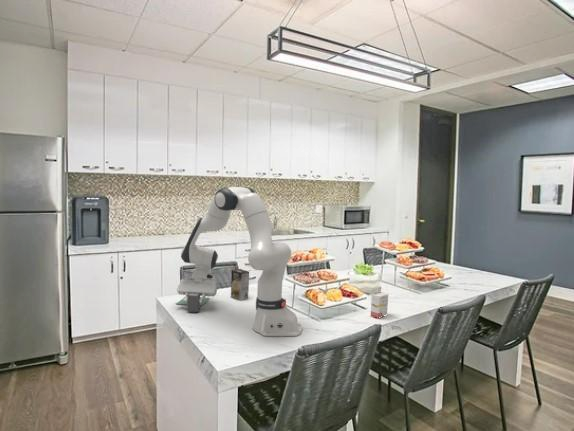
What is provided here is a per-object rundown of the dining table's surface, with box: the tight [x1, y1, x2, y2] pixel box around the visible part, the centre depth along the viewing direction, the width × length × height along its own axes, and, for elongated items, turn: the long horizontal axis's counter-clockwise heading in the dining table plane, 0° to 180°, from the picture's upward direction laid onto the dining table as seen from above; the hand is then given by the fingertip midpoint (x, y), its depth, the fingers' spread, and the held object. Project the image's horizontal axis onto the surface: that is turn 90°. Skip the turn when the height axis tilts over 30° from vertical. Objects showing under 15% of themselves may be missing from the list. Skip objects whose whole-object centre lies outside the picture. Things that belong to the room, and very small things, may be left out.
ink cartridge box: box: [370, 286, 389, 319], centre depth 190 cm, size 9×5×15 cm, turn 135°
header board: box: [175, 296, 211, 307], centre depth 203 cm, size 14×14×2 cm
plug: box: [187, 293, 201, 313], centre depth 187 cm, size 5×4×8 cm
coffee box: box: [230, 268, 250, 302], centre depth 212 cm, size 9×6×16 cm
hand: (193, 302), depth 186 cm, fingers closed on plug, 5 cm apart
